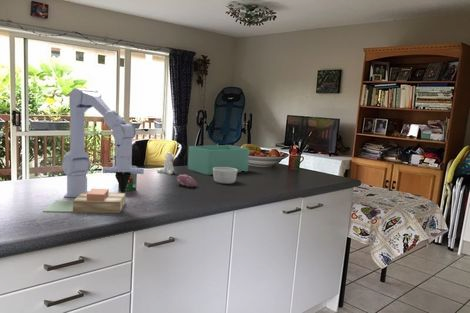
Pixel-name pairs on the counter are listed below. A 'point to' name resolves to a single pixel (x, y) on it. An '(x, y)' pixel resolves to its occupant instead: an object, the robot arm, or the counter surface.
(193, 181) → the pink lumpy figurine
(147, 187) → the counter surface
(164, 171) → the seated beast figurine
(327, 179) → the counter surface
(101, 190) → the tile
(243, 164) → the box
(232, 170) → the ramekin
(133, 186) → the canned tomato
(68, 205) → the mat
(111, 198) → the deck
